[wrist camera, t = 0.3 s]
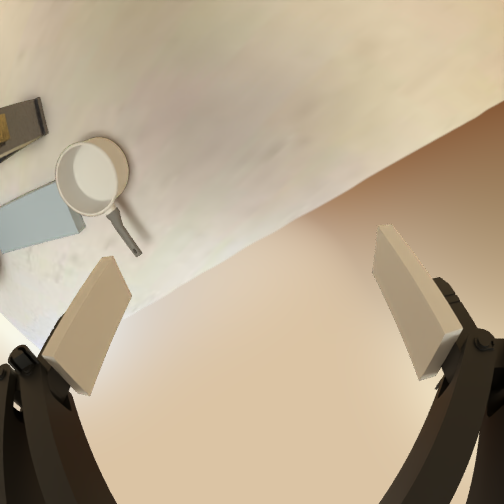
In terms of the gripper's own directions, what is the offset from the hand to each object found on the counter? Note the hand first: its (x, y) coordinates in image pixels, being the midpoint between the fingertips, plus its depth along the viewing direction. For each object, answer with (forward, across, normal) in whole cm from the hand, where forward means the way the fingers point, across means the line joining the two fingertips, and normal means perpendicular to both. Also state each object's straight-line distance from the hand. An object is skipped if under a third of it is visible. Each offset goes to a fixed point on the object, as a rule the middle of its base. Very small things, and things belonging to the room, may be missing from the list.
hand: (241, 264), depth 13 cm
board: (+28, -45, -4) cm, 53 cm away
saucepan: (+28, -22, -3) cm, 36 cm away
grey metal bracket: (+28, -45, +14) cm, 54 cm away
